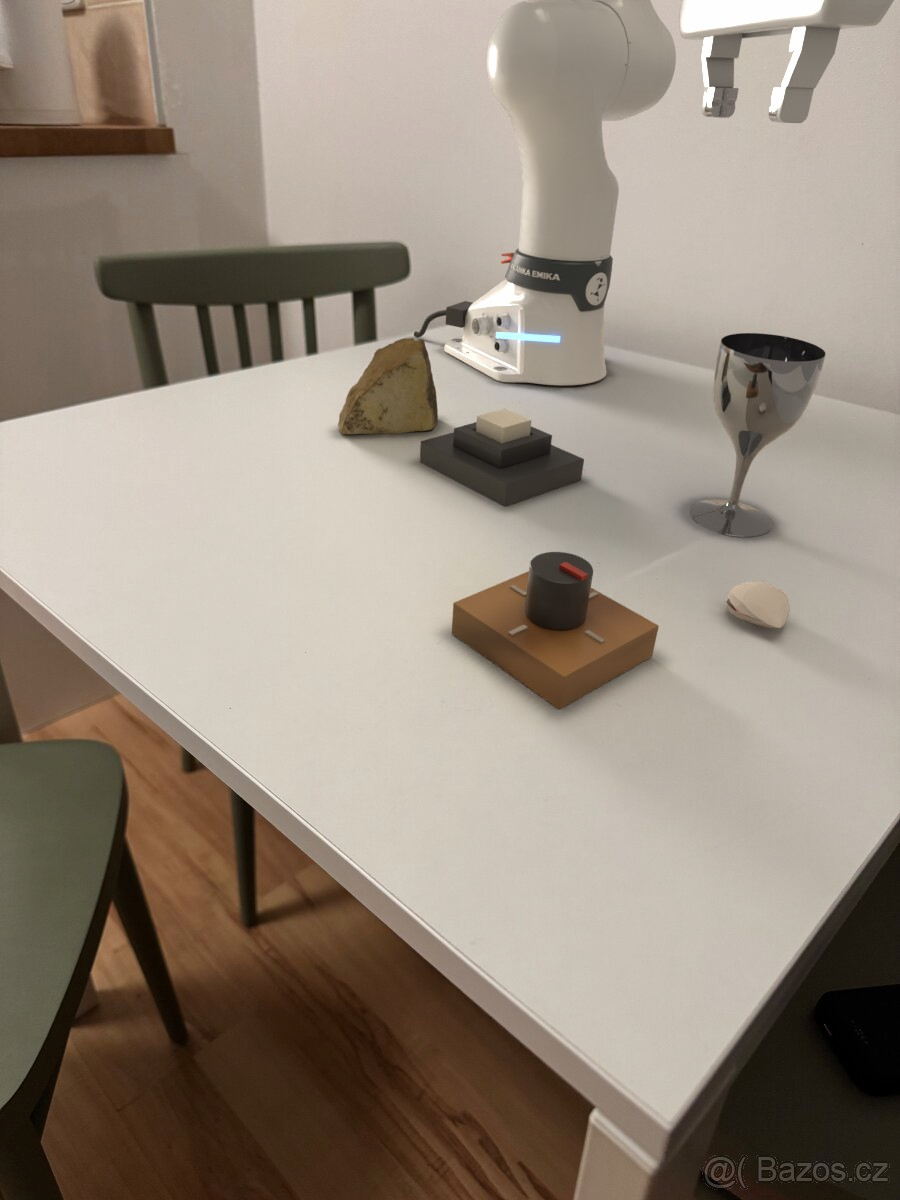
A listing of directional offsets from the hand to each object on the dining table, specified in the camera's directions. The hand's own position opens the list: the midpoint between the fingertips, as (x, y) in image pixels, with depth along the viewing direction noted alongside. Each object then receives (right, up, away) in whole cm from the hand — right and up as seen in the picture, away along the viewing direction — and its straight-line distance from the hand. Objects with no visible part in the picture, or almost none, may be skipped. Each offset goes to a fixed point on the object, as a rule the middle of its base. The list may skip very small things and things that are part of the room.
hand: (749, 120), depth 54 cm
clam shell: (+3, -33, +5) cm, 33 cm away
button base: (-15, -19, +26) cm, 35 cm away
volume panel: (-13, -34, +2) cm, 36 cm away
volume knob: (-13, -32, 0) cm, 34 cm away
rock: (-26, -13, +34) cm, 45 cm away
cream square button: (-15, -16, +24) cm, 32 cm away
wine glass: (+5, -24, +20) cm, 32 cm away
